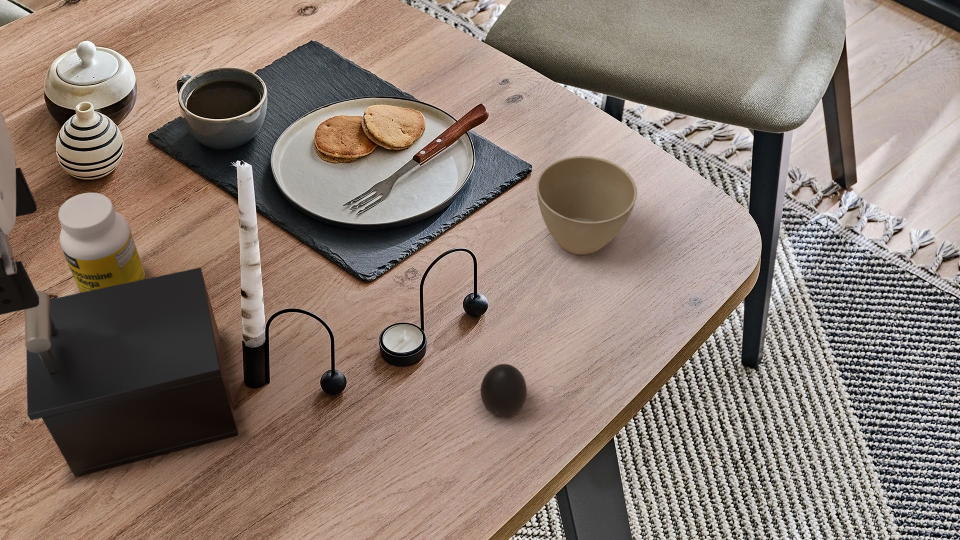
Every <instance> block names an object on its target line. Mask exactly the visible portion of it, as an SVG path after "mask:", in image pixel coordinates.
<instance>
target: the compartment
mask: <svg viewBox="0 0 960 540" xmlns="http://www.w3.org/2000/svg"><path fill="white" fill-rule="evenodd" d="M203 279H204V284H205V290H206V295H207V301H208V306H209V312H210V317H211V323H212V328H213V333H214V339H215V344H216V350H217V355H218V361H219V366H220V371H221V375H219V376H215V377H211V378H207V379H202V380H198V381H194V382H190V383H186V384H181V385H177V386H173V387H169V388H165V389H161V390H156V391H152V392H148V393H144V394H140V395H136V396H131V397H127V398H123V399H119V400H115V401H110V402H106V403H102V404H98V405H94V406H90V407H85V408H81V409H77V410H73V411H69V412H65V413H60V414H56V415H52V416H48V417H44V418H41V419H42V421H43V422H44V425H45V426H46V429H47V430H48V432H49V434H50V435H51V437H52V439H53V441H54V443H55V444H56V447H57V448H58V450H59V452H60V454H61V455H62V456H63V459H64V460H65V462H66V464H67V466H68V468H69V469H70V472H72V475H73V476H74V478H79V477H82V476H87V475H90V474H95V473H100V472H103V471H106V470H110V469H111V470H112V469H114V468H118V467H123V466H126V465H129V464H134V463H138V462H142V461H146V460H149V459H153V458H157V457H161V456H165V455H168V454H173V453H176V452H177V453H178V452H181V451H184V450H188V449H192V448H196V447H201V446H204V445H208V444H212V443H216V442H220V441H223V440H227V439H228V440H229V439H232V438H235V437H239V436H240V433H239V429H238V423H237V418H236V413H235V408H234V401H233V396H232V391H231V386H230V382H229V376H228V371H227V364H226V359H225V354H224V349H223V344H222V339H221V334H220V331H219V327H218V324H217V320H216V315H215V313H214V310H213V306H212V303H211V298H210V295H209V291H208V287H207V285H206V282H205V278H204V276H203Z"/></svg>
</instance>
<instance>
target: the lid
mask: <svg viewBox="0 0 960 540" xmlns="http://www.w3.org/2000/svg"><path fill="white" fill-rule="evenodd" d="M203 277H204V274H203V270H202V267H195V268H190V269H186V270H182V271H176V272H173V273H166V274H162V275H158V276H153V277H149V278H146V279H143V280H138V281H134V282H129V283H124V284H120V285H115V286H110V287H105V288H101V289H96V290H91V291H87V292H82V293H80V292H78V293H77V292H76V293H73V294H68V295H63V296H58V297H54V298H51V297H50V295H49V293H47V292H45V291H43V290H36V292H37V294H38V296H39V305H38V306H37V307H34V308H29V309H25V310H24V333H25V334H24V339H25V344H24V345H25V349H26V350H25V351H26V408H27V409H26V410H27V411H26V413H27V417H28V419H29V420H30V421H35V420H38V419H42V418H44V417H48V416H52V415H56V414H60V413H65V412H69V411H73V410H77V409H81V408H85V407H90V406H94V405H98V404H102V403H106V402H110V401H115V400H119V399H123V398H127V397H131V396H136V395H140V394H144V393H148V392H152V391H156V390H161V389H165V388H169V387H173V386H177V385H181V384H186V383H190V382H194V381H198V380H202V379H207V378H211V377H215V376H219V375H221V371H220V366H219V361H218V355H217V350H216V344H215V339H214V333H213V328H212V323H211V317H210V312H209V306H208V301H207V295H206V290H205V284H206V283H205V284H204V281H205V278H204V279H203Z"/></svg>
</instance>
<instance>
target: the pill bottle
mask: <svg viewBox="0 0 960 540" xmlns="http://www.w3.org/2000/svg"><path fill="white" fill-rule="evenodd" d="M57 215H58V220H59V223H60V225H61V230H60V232H59V245H60V247H61V250H62V253H63V256H64V258H65V260H66V262H67V265H68V268H69V270H70V273H71V274H72V276H73V279H74V281H75V285H76V286H77V289H78V291H79V293H82V292H87V291H91V290H96V289H101V288H105V287H110V286H115V285H120V284H124V283H129V282H134V281H138V280H143V279H147V275H146V272H145V268H144V265H143V263H142V260H141V256H140V254H139V251H138V248H137V245H136V243H135V239H134V236H133V233H132V230H131V227H130V224H129V223H128V220H127V219H126V218H125V216H123V215H122V214H121V213H119V212H117V211H116V209H115V206H114V205H113V202H112V200H111V198H109V197H108V196H107V195H105V194H102V193H100V192H99V193H98V192H84V193H79V194H76V195H74V196H72V197H70V198H69V199H67V200H66V201H64V202H63V203H62V204H61V206H60V208H59V210H58V214H57Z"/></svg>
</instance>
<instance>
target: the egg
mask: <svg viewBox="0 0 960 540" xmlns="http://www.w3.org/2000/svg"><path fill="white" fill-rule="evenodd" d="M527 389H528V388H527V382H526V379H525V377H524V375H523V373H522V372H521V371H520V370H519V369H518V368H517V367H515V366H514V365H512V364H510V363H509V364H508V363H502V364H501V363H500V364H497V365H494V366H493V367H491V368H490V369H489V370H488V371H487V372H486V374H484V377H483V378H482V381H481V384H480V398H481V402H482V404H483V405H484V407H485V408H486V409H487V411H488V412H490V413H491V414H493V415H495V416H497V417H509V416H512V415H515V414H516V413H517V412H519V411H520V410H521V408H523V406H524V404H525V402H526V399H527V395H528V394H527V393H528V390H527Z"/></svg>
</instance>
